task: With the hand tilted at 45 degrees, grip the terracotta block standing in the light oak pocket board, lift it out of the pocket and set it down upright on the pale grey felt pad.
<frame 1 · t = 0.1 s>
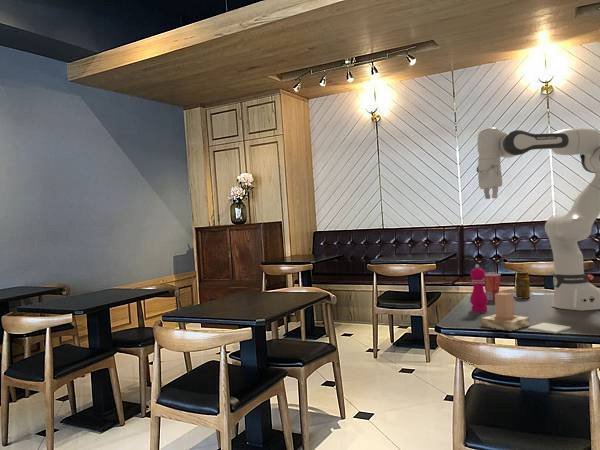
hand: (491, 198, 211), 48 cm above the table, tool pointing down, fingers open, 8 cm apart
condiment: (522, 297, 238), on the table
felt pad: (549, 328, 176), on the table
pepper mill: (479, 311, 213), on the table
terracotta block: (504, 309, 184), in the pocket board
cup: (491, 299, 237), on the table
pocket board: (505, 325, 184), on the table
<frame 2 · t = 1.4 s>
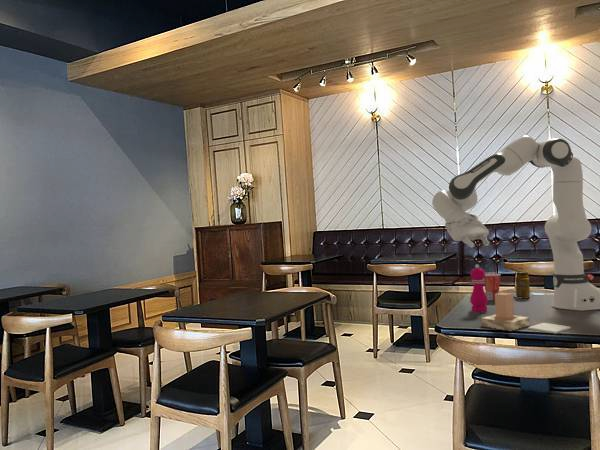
hand: (480, 245, 200), 29 cm above the table, tool tilted 45°, fingers open, 8 cm apart
nothing on the table moved.
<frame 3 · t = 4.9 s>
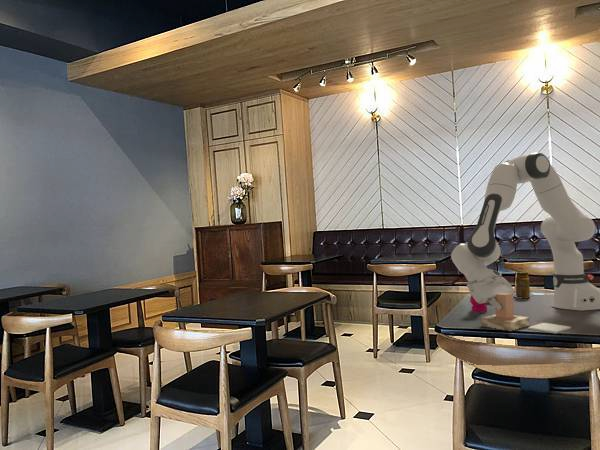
hand: (505, 307, 183), 7 cm above the table, tool tilted 45°, fingers closed on terracotta block, 4 cm apart
terracotta block: (504, 309, 184), in the pocket board, touching gripper
everything else where it was.
when the fingers open (9 cm above the table, at t = 10.5 s): terracotta block drops 1 cm, resting on felt pad.
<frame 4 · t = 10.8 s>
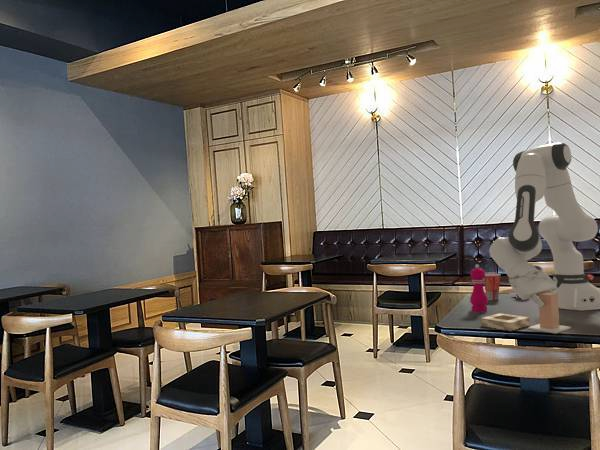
hand: (550, 303, 175), 9 cm above the table, tool tilted 45°, fingers open, 7 cm apart
terracotta block: (548, 310, 176), on the felt pad, point 7 cm above the table
everything else where it was.
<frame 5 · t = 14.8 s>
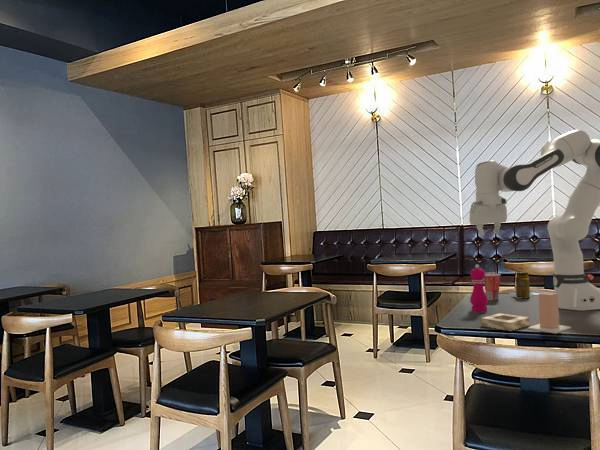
hand: (489, 235, 200), 33 cm above the table, tool pointing down, fingers open, 8 cm apart
nothing on the table moved.
at the end: terracotta block inside the target area on the felt pad (0.1 cm from its centre), point 6.6 cm above the felt pad's base; terracotta block tilted 0°; the gripper is holding nothing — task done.
